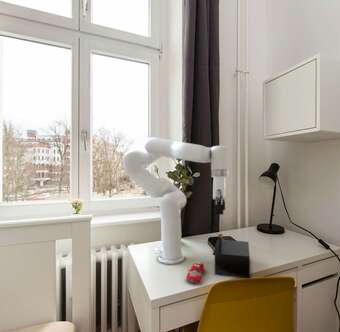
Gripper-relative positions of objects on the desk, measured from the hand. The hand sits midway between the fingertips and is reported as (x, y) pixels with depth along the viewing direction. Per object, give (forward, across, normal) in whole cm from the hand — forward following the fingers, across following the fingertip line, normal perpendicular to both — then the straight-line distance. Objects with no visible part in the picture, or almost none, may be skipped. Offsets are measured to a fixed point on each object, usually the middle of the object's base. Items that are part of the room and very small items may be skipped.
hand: (220, 212), depth 97 cm
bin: (+24, 0, +5) cm, 24 cm away
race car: (+24, +12, -9) cm, 28 cm away
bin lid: (+16, 0, +5) cm, 17 cm away
